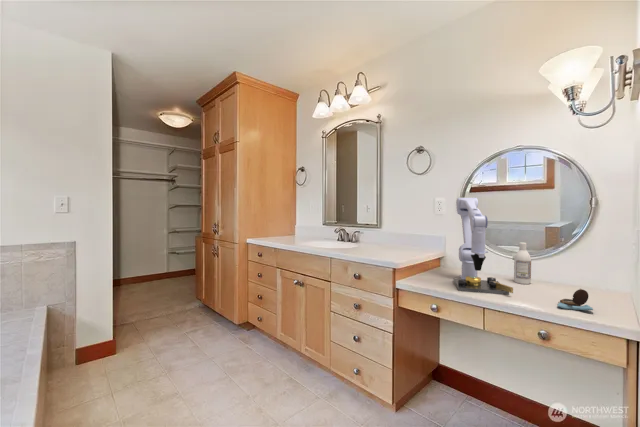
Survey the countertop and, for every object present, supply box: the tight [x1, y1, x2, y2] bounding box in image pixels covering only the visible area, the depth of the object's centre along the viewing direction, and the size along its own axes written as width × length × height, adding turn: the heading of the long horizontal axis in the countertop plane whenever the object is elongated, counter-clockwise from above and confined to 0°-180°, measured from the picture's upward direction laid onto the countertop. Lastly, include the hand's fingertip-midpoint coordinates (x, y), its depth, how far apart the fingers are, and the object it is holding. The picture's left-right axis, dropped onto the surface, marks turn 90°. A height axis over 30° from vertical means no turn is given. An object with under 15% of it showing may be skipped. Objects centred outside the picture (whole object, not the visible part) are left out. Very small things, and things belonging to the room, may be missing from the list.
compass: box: [557, 288, 589, 307], centre depth 113 cm, size 8×8×7 cm
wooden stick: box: [489, 280, 514, 294], centre depth 129 cm, size 12×4×2 cm, turn 11°
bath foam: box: [513, 242, 532, 285], centre depth 144 cm, size 7×7×20 cm
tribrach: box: [452, 276, 510, 296], centre depth 137 cm, size 17×20×5 cm
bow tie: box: [557, 302, 594, 311], centre depth 108 cm, size 10×2×5 cm
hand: (477, 270), depth 136 cm, fingers closed
